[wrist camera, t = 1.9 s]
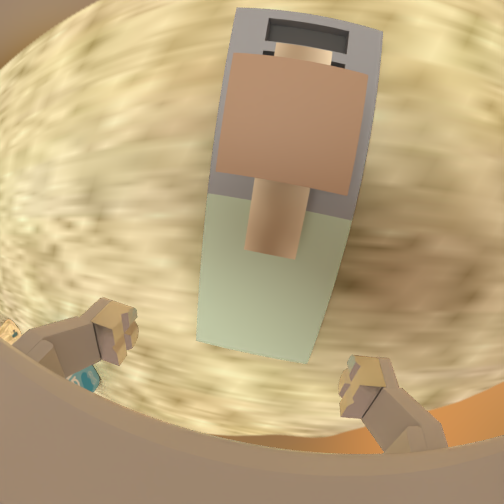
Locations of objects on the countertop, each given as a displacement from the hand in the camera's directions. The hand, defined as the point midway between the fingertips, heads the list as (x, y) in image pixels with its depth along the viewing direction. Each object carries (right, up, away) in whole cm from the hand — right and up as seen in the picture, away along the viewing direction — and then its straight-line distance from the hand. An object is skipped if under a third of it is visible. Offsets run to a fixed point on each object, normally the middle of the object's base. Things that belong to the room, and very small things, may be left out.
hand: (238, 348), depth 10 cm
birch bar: (+4, +12, +13) cm, 18 cm away
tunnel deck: (+3, +9, +16) cm, 19 cm away
